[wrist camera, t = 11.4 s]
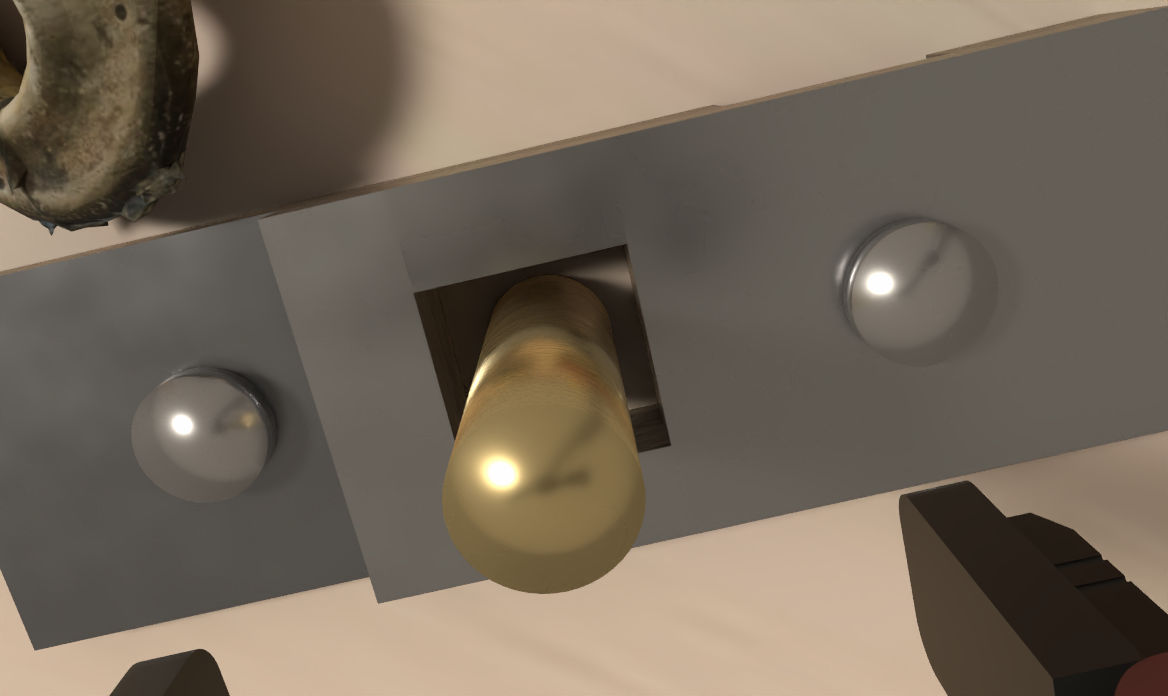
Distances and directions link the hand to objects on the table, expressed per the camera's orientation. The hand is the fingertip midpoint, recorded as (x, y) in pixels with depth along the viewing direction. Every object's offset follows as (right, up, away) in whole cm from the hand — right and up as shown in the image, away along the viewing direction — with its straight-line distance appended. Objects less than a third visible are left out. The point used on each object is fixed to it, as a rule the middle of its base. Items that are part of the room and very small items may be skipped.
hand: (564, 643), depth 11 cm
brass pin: (-1, +4, +13) cm, 14 cm away
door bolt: (-1, +4, +13) cm, 14 cm away
